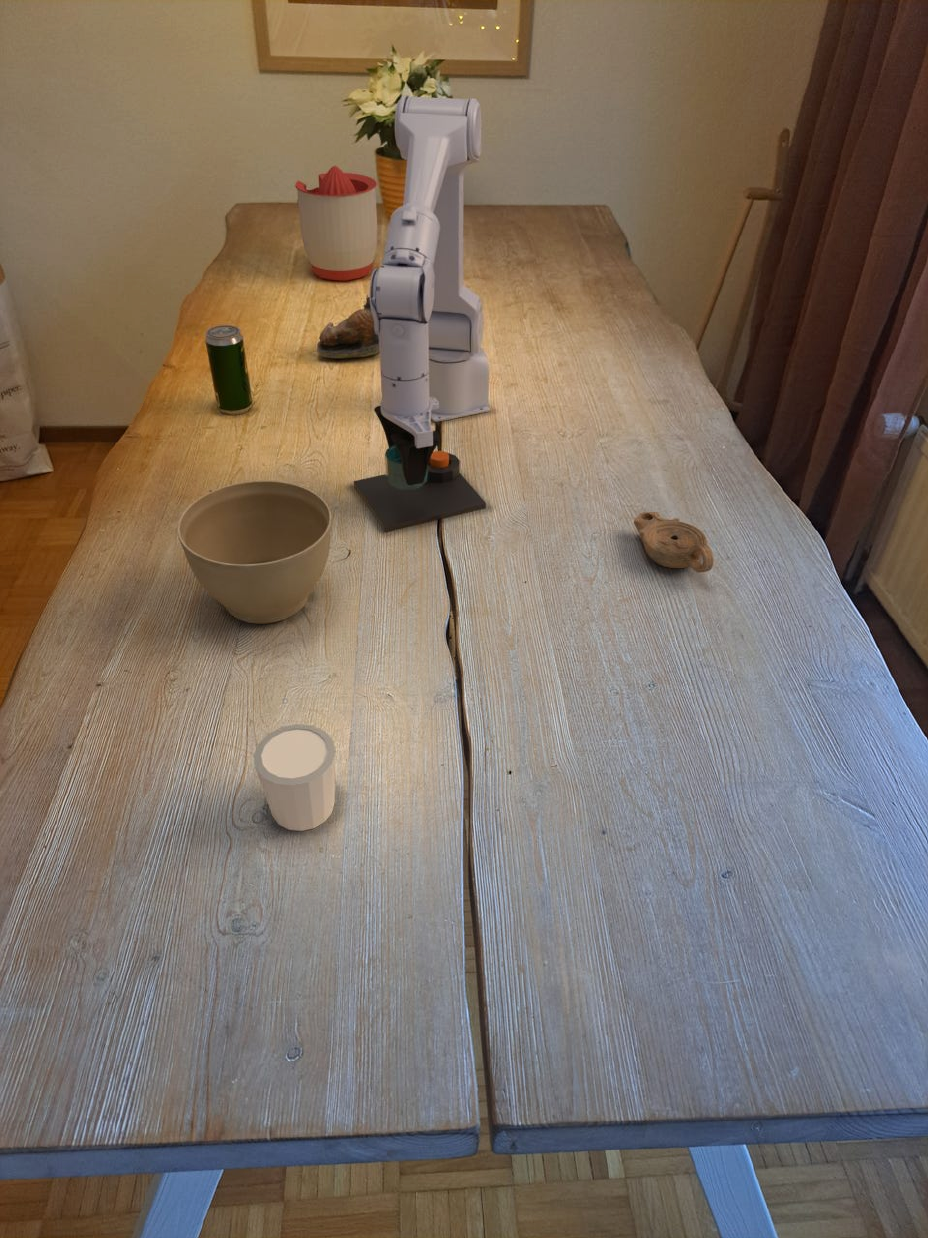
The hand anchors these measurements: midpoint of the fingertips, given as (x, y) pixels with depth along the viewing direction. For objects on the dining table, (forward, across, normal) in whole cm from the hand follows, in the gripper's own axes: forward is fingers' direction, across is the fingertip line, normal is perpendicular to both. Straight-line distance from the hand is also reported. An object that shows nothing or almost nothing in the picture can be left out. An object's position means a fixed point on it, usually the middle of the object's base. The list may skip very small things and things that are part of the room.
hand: (407, 471), depth 115 cm
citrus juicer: (+5, +89, -14) cm, 90 cm away
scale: (+5, +2, -2) cm, 6 cm away
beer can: (+6, +35, +17) cm, 39 cm away
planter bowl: (+6, -13, +21) cm, 25 cm away
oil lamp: (+6, -22, -27) cm, 35 cm away
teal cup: (+1, 0, 0) cm, 1 cm away
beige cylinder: (+6, -43, +24) cm, 50 cm away
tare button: (+3, +6, -6) cm, 9 cm away
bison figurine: (+5, +48, -6) cm, 49 cm away
